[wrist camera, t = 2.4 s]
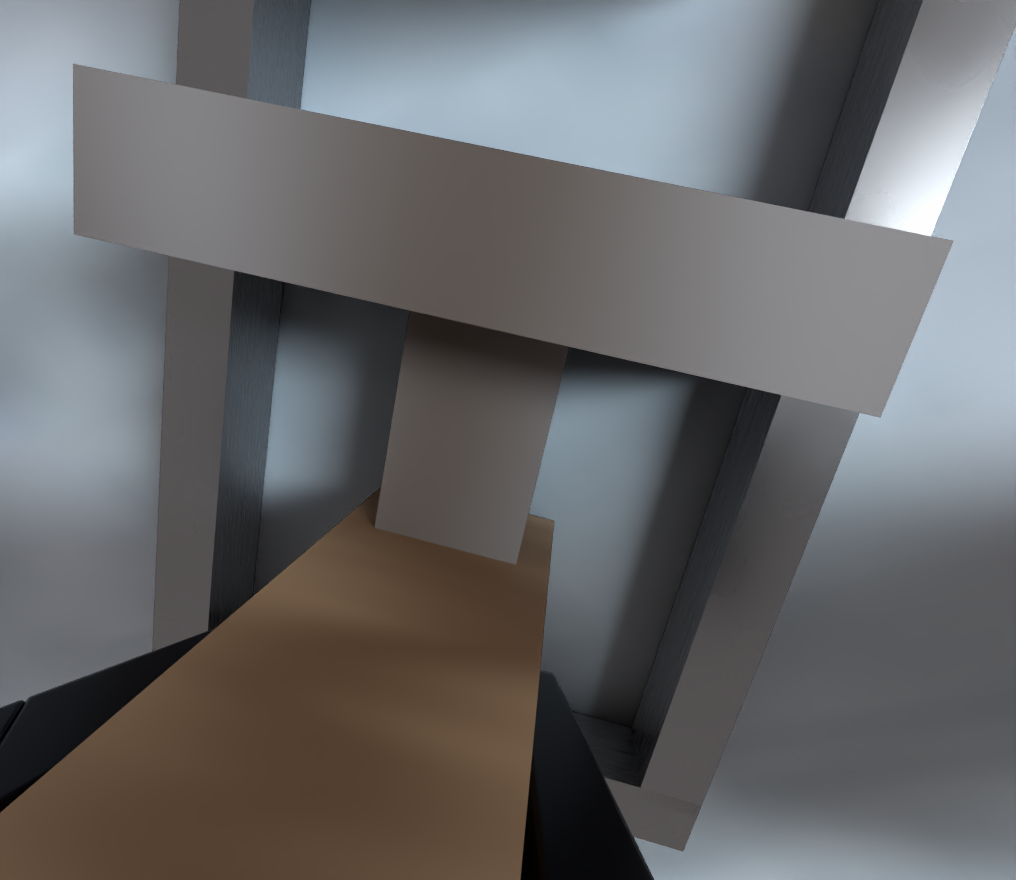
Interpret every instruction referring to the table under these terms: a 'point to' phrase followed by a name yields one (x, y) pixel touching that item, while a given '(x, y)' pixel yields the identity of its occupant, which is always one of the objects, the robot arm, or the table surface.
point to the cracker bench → (752, 447)
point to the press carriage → (421, 470)
